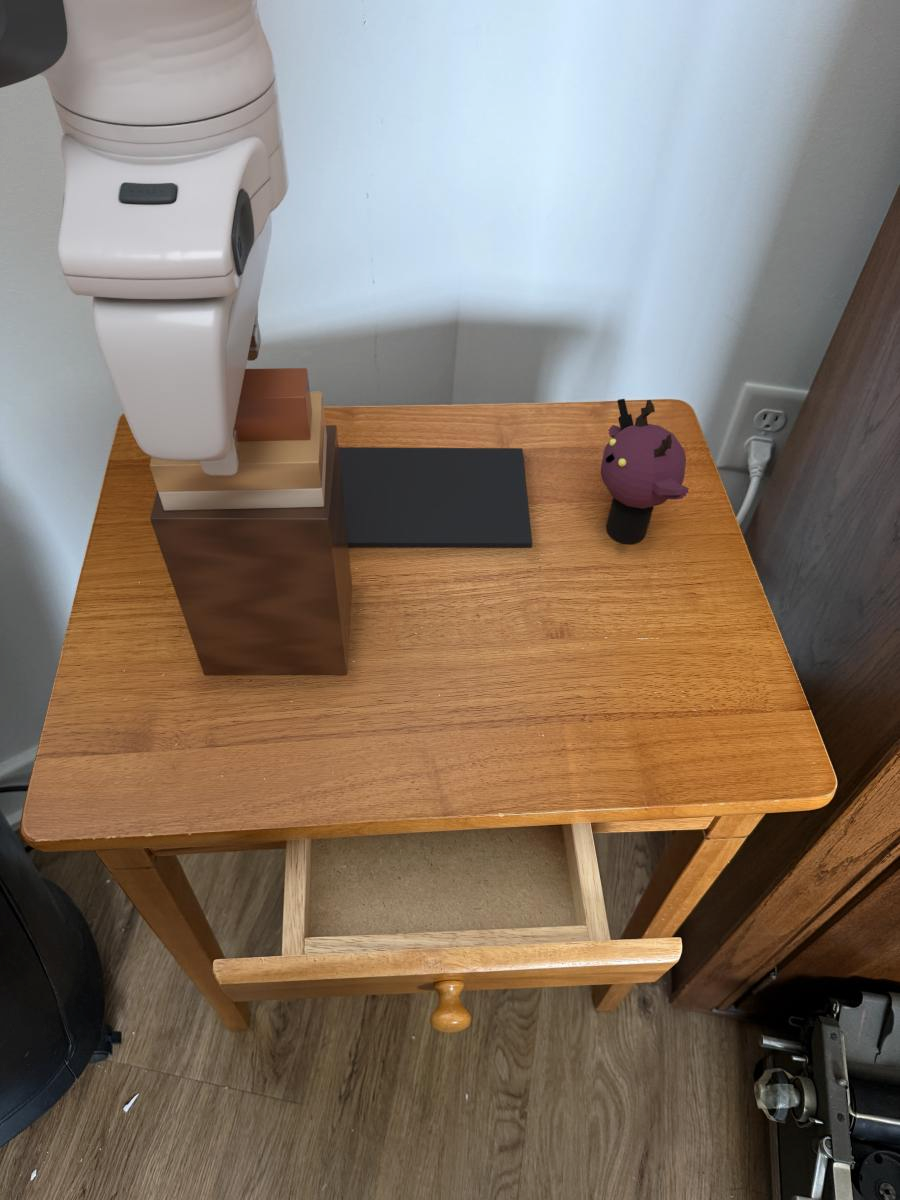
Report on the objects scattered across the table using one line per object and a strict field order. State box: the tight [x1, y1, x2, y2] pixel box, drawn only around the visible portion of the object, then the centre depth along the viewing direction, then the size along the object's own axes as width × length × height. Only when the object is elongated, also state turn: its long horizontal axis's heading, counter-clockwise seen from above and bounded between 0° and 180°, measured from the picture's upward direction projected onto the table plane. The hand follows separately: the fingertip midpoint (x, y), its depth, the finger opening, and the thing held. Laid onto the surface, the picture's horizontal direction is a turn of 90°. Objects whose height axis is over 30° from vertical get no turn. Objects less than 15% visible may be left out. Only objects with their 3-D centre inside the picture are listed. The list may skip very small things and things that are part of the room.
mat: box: [339, 446, 533, 549], centre depth 73 cm, size 20×11×1 cm, turn 91°
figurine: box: [600, 398, 690, 545], centre depth 67 cm, size 8×8×12 cm
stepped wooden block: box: [149, 367, 327, 511], centre depth 50 cm, size 9×6×6 cm, turn 93°
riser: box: [149, 424, 353, 676], centre depth 59 cm, size 10×8×16 cm
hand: (235, 406), depth 49 cm, fingers open, 8 cm apart
